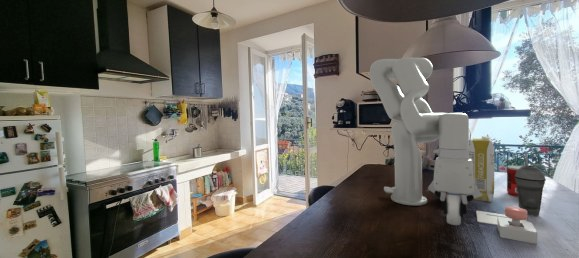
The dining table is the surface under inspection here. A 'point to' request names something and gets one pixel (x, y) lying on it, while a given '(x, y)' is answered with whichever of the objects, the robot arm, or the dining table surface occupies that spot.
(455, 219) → the marker
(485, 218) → the paper
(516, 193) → the canned food
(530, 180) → the beverage cup
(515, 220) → the button
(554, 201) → the dining table surface
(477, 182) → the juice carton
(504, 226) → the button box
